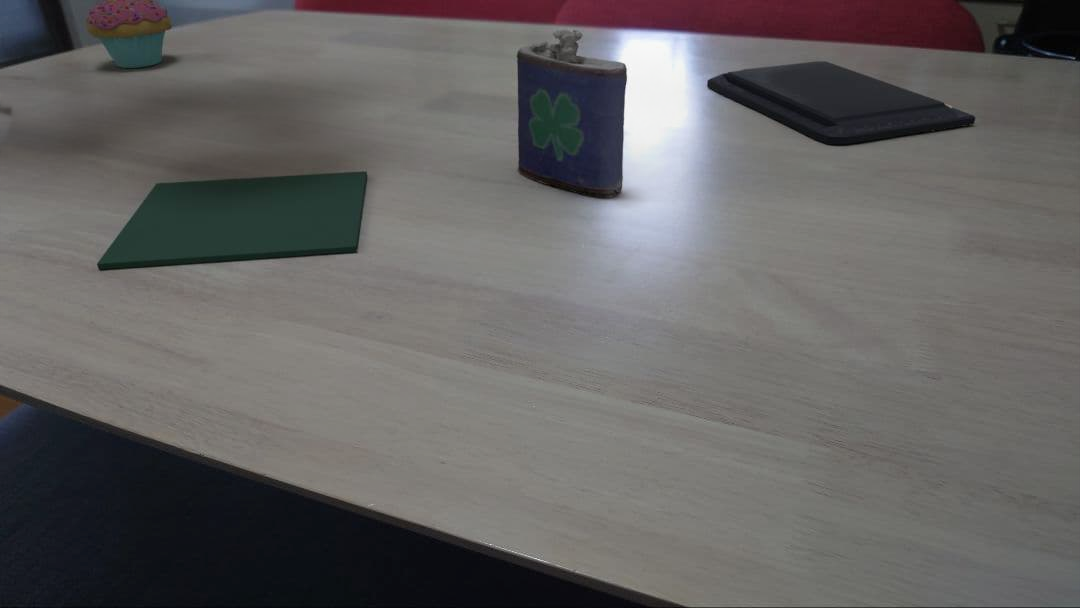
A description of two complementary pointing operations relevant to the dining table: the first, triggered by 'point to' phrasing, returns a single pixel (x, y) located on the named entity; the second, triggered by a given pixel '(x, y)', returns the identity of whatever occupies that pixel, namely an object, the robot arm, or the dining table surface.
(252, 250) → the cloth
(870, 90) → the wallet
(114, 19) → the cupcake
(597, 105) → the flask
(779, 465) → the dining table surface
